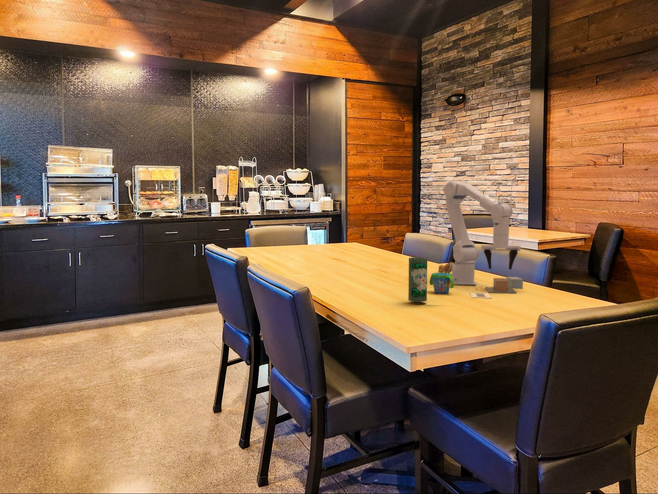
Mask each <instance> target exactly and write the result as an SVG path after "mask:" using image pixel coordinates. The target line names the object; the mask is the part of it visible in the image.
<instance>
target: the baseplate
mask: <svg viewBox="0 0 658 494" xmlns="http://www.w3.org/2000/svg"><path fill="white" fill-rule="evenodd" d="M485 290H486V291H487V293H490V294H515V295H516V294H517V291H516V289H512V288H509V287H508V291H496V290H495V289H494V288H493V287H491V286H490V287H488V286H486V287H485Z"/></svg>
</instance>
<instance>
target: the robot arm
mask: <svg viewBox="0 0 658 494" xmlns="http://www.w3.org/2000/svg"><path fill="white" fill-rule="evenodd" d="M443 192H444V197H445V205H446V206H445V207H446V210H447V214H448V217H449V221H450V224H451V228H452V232H453V235H454V236H453V237H454V238H455V243H454V245H453V246H452V250H453V254H452V256H453V259H454V261H455V262H453V263H452V271H451V274H452V278H453V281H454V285H468V286H469V285H471V286H473V285H474V286H476V285H477V283H476V281H475V272H476V271H475V267H476V266H475V265H476V263H477V260H478V259H479V256H480V253H479V252H480V251H479V250H478V248H477V247H476V244H475V242H473V240H471V239H470V237H469V235H468V230H467V227H466V223H465V220H464V216H463V212H462V210H461V206H460V205H461V203H463V202H464V200H465V199H466V198H468V197H470V198H471V199H474V201H477V202H479V206H480V208H482V209H484V210H485V211H486V212H489V213H490V215H491V217H492V222H493V229H492V230H493V232H492V233H493V237H492V244H491V245H490V244H489V245H488V244H487V245H486V244H485V245H480V250H481V251H483V253H484V255H485V258H486V260H487V261H486V262H487V267H488V269H489V270H492V254H493V253H492V251H495V252H496V251H503V252H506V251H507V252H509V253H508V257H509V260H508V270H512V269H513V264H514V261H515V260H516V258H517V256H518V254H519V252H521V246H520V245H509V238H510V234H509V231H510V218H511V217H512V216H513V213H514V212H513V207H512V206H511V205H510V204H509V203H503V201H502V200H501V199H500V200H499V199H497V198H495V197H494V195H493V194H488V193H487V194H483V193H482V191H479V190H478V189H477V188H475V187H474V186H473V185H472V184H471V183H469V182H467V181H453V180H450V181H447V182H446V184H445V186H444V188H443Z"/></svg>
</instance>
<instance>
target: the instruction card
mask: <svg viewBox="0 0 658 494" xmlns="http://www.w3.org/2000/svg"><path fill="white" fill-rule="evenodd" d="M469 295H470V296H471V298H473V299H493V297H492V296H491V294H489V292H469Z"/></svg>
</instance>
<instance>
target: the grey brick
mask: <svg viewBox="0 0 658 494" xmlns="http://www.w3.org/2000/svg"><path fill="white" fill-rule="evenodd" d="M505 279H507V280H508V288H512V289H513V290H517V289H520V290H521V289H522V290H523V289H524V279H523V278H521V277H518V276H506V277H505Z"/></svg>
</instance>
